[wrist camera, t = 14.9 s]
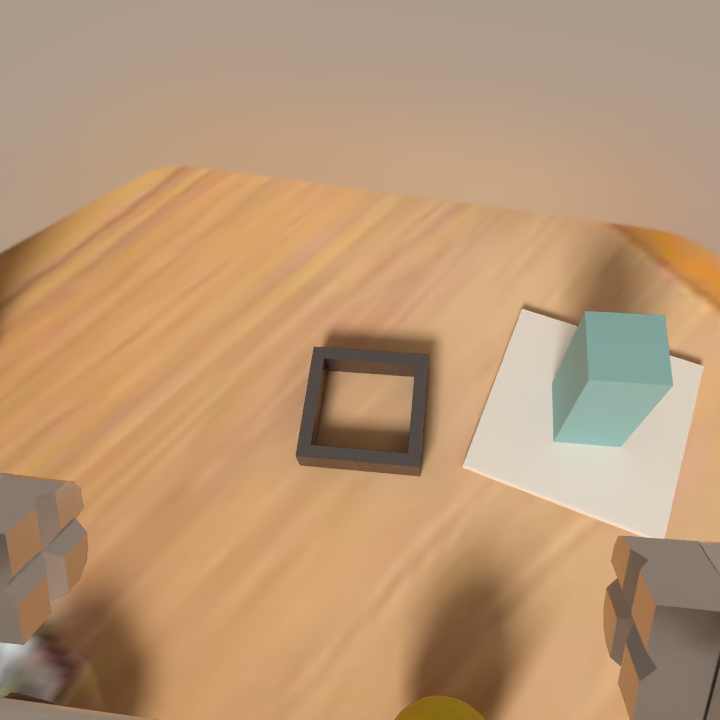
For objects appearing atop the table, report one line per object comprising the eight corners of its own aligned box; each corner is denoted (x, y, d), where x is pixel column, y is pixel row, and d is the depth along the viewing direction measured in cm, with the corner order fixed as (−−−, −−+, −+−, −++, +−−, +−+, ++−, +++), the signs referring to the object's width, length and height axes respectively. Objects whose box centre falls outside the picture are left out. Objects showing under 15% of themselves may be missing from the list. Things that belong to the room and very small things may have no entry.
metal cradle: (300, 465, 41) (295, 456, 40) (317, 359, 44) (313, 346, 43) (419, 476, 40) (420, 467, 39) (428, 366, 44) (428, 354, 42)
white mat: (462, 467, 40) (463, 464, 40) (520, 313, 45) (522, 308, 44) (660, 543, 37) (663, 541, 37) (700, 370, 42) (703, 366, 42)
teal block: (553, 441, 40) (588, 380, 32) (551, 383, 42) (585, 310, 34) (620, 447, 40) (673, 385, 32) (616, 387, 41) (665, 315, 33)
